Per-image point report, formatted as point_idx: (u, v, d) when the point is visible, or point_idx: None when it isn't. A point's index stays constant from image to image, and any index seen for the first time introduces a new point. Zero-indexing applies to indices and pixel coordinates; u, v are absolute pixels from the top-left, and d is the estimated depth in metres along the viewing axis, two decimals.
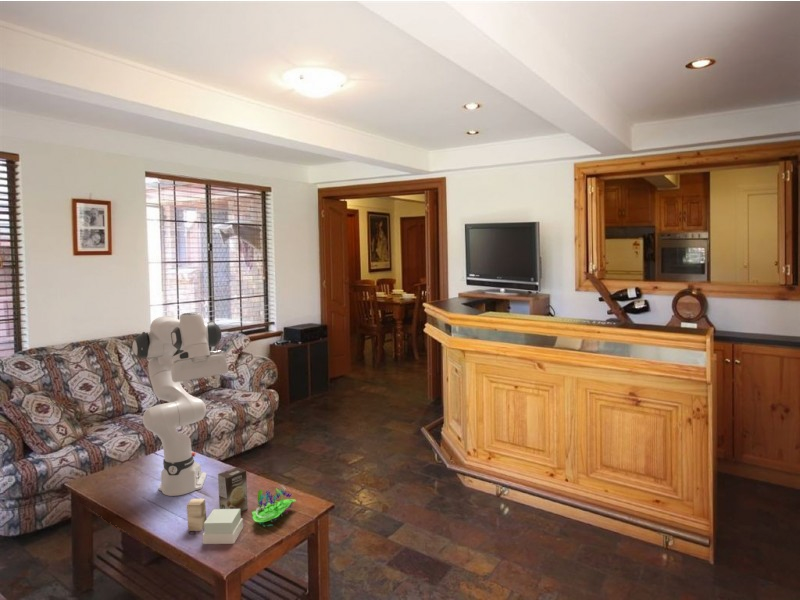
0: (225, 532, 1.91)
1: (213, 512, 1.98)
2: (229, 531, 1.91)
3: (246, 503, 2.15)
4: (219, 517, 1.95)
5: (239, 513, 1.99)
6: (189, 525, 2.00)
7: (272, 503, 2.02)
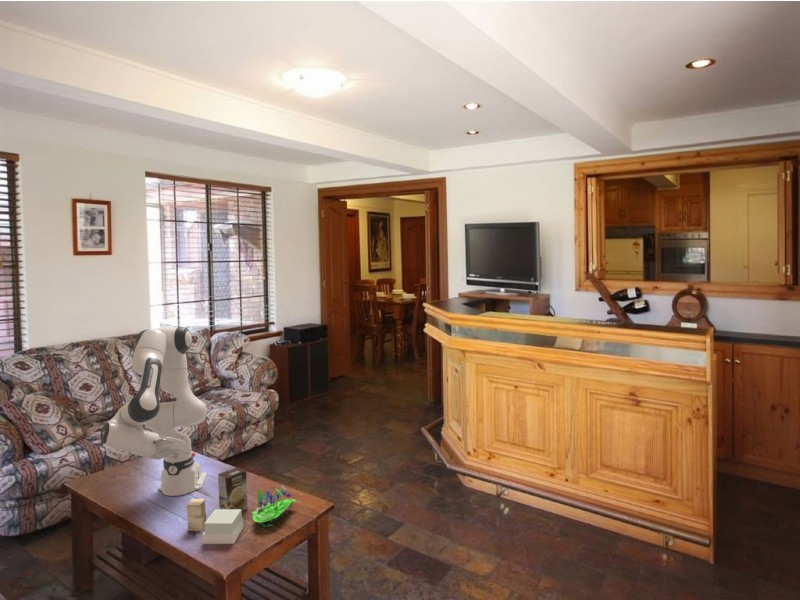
0: (225, 533, 1.91)
1: (214, 512, 1.98)
2: (229, 532, 1.91)
3: (246, 503, 2.15)
4: (220, 517, 1.94)
5: (240, 514, 1.99)
6: (189, 525, 2.00)
7: (272, 503, 2.02)
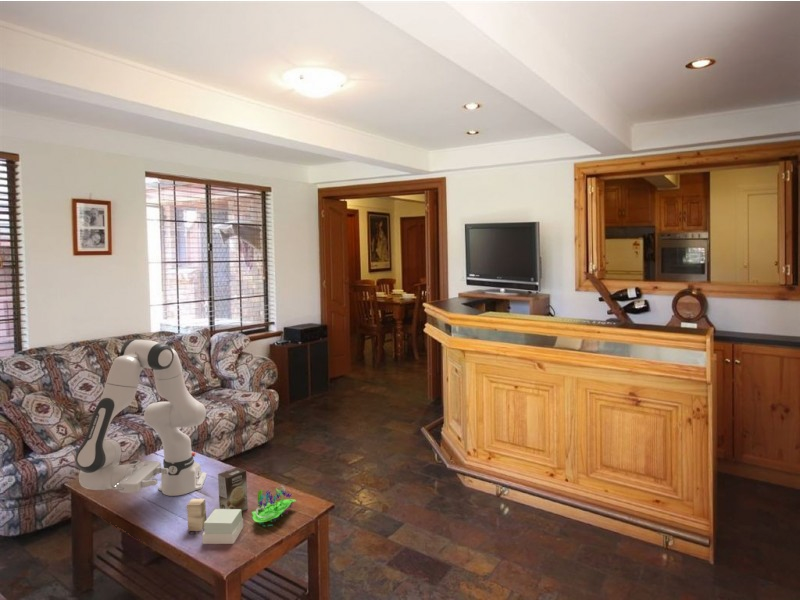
0: (225, 532, 1.91)
1: (214, 512, 1.98)
2: (229, 531, 1.91)
3: (246, 503, 2.15)
4: (220, 517, 1.95)
5: (240, 514, 1.99)
6: (189, 525, 2.00)
7: (272, 503, 2.02)
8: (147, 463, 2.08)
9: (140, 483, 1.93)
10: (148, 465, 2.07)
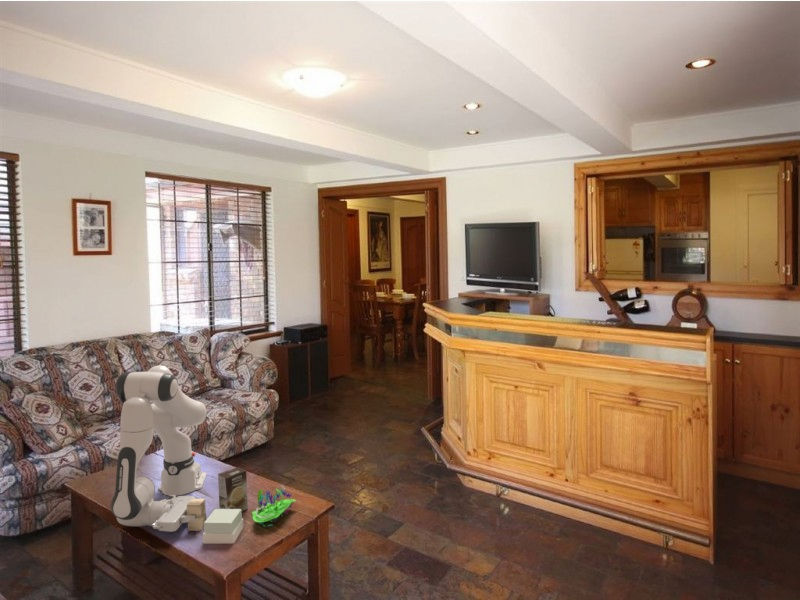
0: (225, 532, 1.91)
1: (214, 512, 1.99)
2: (229, 531, 1.91)
3: (246, 503, 2.15)
4: (220, 516, 1.95)
5: (240, 513, 1.99)
6: (189, 525, 2.00)
7: (272, 503, 2.02)
8: (183, 498, 2.10)
9: (178, 521, 1.95)
10: (184, 500, 2.08)
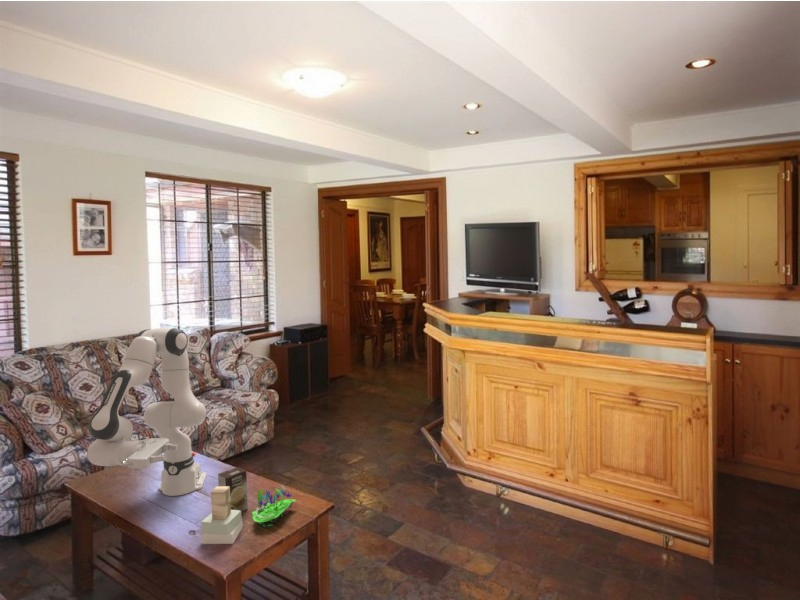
0: (221, 533, 1.90)
1: None
2: (224, 532, 1.90)
3: (246, 503, 2.15)
4: None
5: (239, 515, 1.98)
6: (213, 513, 1.93)
7: (272, 503, 2.02)
8: (156, 440, 2.05)
9: (149, 458, 1.90)
10: (157, 442, 2.03)
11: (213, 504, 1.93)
